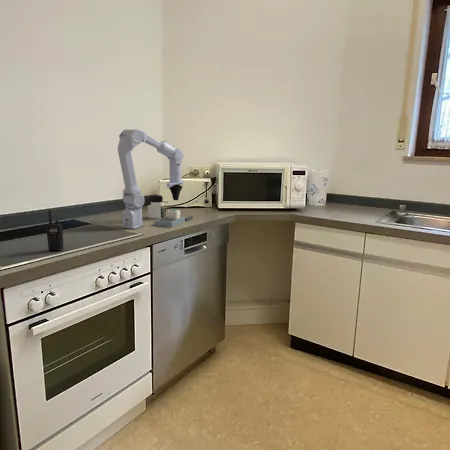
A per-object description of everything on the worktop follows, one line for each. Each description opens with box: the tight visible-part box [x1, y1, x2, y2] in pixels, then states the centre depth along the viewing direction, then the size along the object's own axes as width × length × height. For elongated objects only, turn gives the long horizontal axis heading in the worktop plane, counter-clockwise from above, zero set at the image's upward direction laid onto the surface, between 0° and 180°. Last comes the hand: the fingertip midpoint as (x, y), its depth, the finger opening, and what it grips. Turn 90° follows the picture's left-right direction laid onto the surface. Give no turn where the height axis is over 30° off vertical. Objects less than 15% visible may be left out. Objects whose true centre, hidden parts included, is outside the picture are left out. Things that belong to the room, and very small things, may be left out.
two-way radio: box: [45, 209, 64, 251], centre depth 144 cm, size 6×4×15 cm
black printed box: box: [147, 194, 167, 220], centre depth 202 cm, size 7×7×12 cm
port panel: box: [154, 215, 186, 229], centre depth 188 cm, size 13×9×3 cm
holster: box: [180, 214, 194, 222], centre depth 198 cm, size 7×8×2 cm
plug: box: [166, 208, 181, 219], centre depth 190 cm, size 4×5×7 cm
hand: (175, 200), depth 199 cm, fingers closed
